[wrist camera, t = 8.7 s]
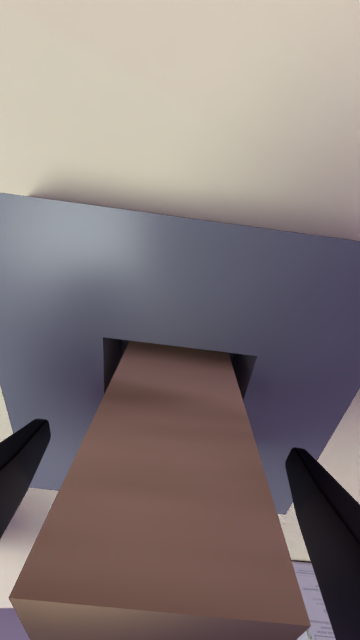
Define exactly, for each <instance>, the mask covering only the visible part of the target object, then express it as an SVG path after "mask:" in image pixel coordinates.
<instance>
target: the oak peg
mask: <svg viewBox="0 0 360 640" xmlns="http://www.w3.org/2000/svg"><path fill="white" fill-rule="evenodd" d="M9 600H10V602H11V603H12V605H13V607H14V609H15V611H16V613H17V615H18V617H19V619H20V621H21V623H22V625H23V627H24V628H25V630H26V632H27V634H28V636H29V638H30V640H297V639H298V638H299V637H300V636H301V635H302V634H303V633H304V632H305V631H306V630H307V629H309V628H310V627H311V624H310V620H309V617H308V614H307V611H306V607H305V604H304V601H303V597H302V594H301V591H300V587H299V584H298V581H297V578H296V574H295V571H294V568H293V564H292V561H291V558H290V554H289V551H288V548H287V545H286V541H285V538H284V535H283V531H282V528H281V525H280V521H279V518H278V515H277V512H276V508H275V505H274V502H273V498H272V495H271V492H270V488H269V485H268V482H267V478H266V475H265V472H264V469H263V465H262V462H261V459H260V455H259V452H258V449H257V445H256V442H255V439H254V436H253V432H252V429H251V426H250V422H249V419H248V416H247V412H246V409H245V406H244V403H243V399H242V396H241V393H240V389H239V386H238V383H237V379H236V376H235V373H234V370H233V366H232V363H231V360H230V356H229V353H228V352H220V351H211V350H203V349H195V348H187V347H178V346H170V345H162V344H154V343H146V342H137V341H129V343H128V345H127V348H126V350H125V352H124V354H123V356H122V358H121V360H120V362H119V365H118V367H117V369H116V371H115V373H114V375H113V377H112V379H111V382H110V384H109V386H108V388H107V390H106V392H105V394H104V396H103V399H102V401H101V403H100V405H99V407H98V409H97V411H96V413H95V416H94V418H93V420H92V422H91V424H90V426H89V428H88V430H87V433H86V435H85V437H84V439H83V441H82V443H81V445H80V447H79V450H78V452H77V454H76V456H75V458H74V460H73V462H72V464H71V467H70V469H69V471H68V473H67V475H66V477H65V479H64V481H63V484H62V486H61V488H60V490H59V492H58V494H57V496H56V498H55V501H54V503H53V505H52V507H51V509H50V511H49V513H48V515H47V518H46V520H45V522H44V524H43V526H42V528H41V530H40V532H39V535H38V537H37V539H36V541H35V543H34V545H33V547H32V549H31V552H30V554H29V556H28V558H27V560H26V562H25V564H24V566H23V569H22V571H21V573H20V575H19V577H18V579H17V581H16V583H15V586H14V588H13V590H12V592H11V594H10V596H9Z"/></svg>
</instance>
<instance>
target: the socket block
mask: <svg viewBox="0 0 360 640" xmlns="http://www.w3.org/2000/svg"><path fill="white" fill-rule="evenodd" d="M129 341H137V342H146V343H154V344H162V345H170V346H178V347H187V348H195V349H203V350H211V351H220V352H228V353H229V356H230V360H231V363H232V366H233V370H234V373H235V376H236V379H237V383H238V386H239V389H240V393H241V396H242V399H243V403H244V406H245V409H246V412H247V416H248V419H249V422H250V426H251V429H252V432H253V436H254V439H255V442H256V445H257V449H258V452H259V455H260V459H261V462H262V465H263V469H264V472H265V475H266V478H267V482H268V485H269V488H270V492H271V495H272V498H273V502H274V505H275V508H276V512H277V514H286V513H287V511H288V509H289V507H290V506H291V504H292V502H293V499H292V495H291V490H290V486H289V482H288V477H287V473H286V468H285V461H286V459H287V457H288V455H289V453H290V451H291V449H292V448H293V447H297V448H303V449H305V450H307V451H308V452H309V453H310V454H311V455H312V457H313V458H314V459H315V460H316V461H317V460H318V458H319V456H320V455H321V453H322V451H323V450H324V448H325V446H326V444H327V443H328V441H329V439H330V438H331V436H332V434H333V432H334V431H335V429H336V427H337V426H338V424H339V422H340V421H341V419H342V417H343V415H344V414H345V412H346V410H347V409H348V407H349V405H350V404H351V402H352V400H353V398H354V397H355V395H356V393H357V392H358V390H359V388H360V241H354V240H347V239H339V238H332V237H324V236H317V235H310V234H302V233H295V232H287V231H280V230H273V229H265V228H258V227H251V226H243V225H236V224H228V223H221V222H214V221H206V220H199V219H191V218H184V217H177V216H169V215H162V214H154V213H147V212H140V211H132V210H125V209H117V208H110V207H103V206H95V205H88V204H80V203H73V202H66V201H58V200H51V199H43V198H36V197H29V196H21V195H14V194H6V193H0V386H1V389H2V393H3V397H4V400H5V404H6V408H7V411H8V415H9V419H10V423H11V426H12V430H13V434H14V433H15V432H16V431H18V430H19V429H21V428H22V427H24V426H25V425H27V424H28V423H30V422H31V421H32V420H34V419H37V418H39V419H47V420H48V421H49V426H50V432H51V439H50V442H49V444H48V446H47V448H46V451H45V453H44V455H43V457H42V460H41V462H40V464H39V466H38V469H37V471H36V473H35V475H34V477H33V480H32V482H31V484H30V486H29V487H30V488H39V489H49V490H58V491H59V490H60V488H61V486H62V484H63V481H64V479H65V477H66V475H67V473H68V471H69V469H70V467H71V464H72V462H73V460H74V458H75V456H76V454H77V452H78V450H79V447H80V445H81V443H82V441H83V439H84V437H85V435H86V433H87V430H88V428H89V426H90V424H91V422H92V420H93V418H94V416H95V413H96V411H97V409H98V407H99V405H100V403H101V401H102V399H103V396H104V394H105V392H106V390H107V388H108V386H109V384H110V382H111V379H112V377H113V375H114V373H115V371H116V369H117V367H118V365H119V362H120V360H121V358H122V356H123V354H124V352H125V350H126V348H127V345H128V343H129Z"/></svg>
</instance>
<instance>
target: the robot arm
mask: <svg viewBox="0 0 360 640" xmlns="http://www.w3.org/2000/svg"><path fill="white" fill-rule="evenodd" d="M50 439H51V432H50V426H49V421H48V420H47V419H39V418H37V419H34V420H32V421H31V422H30V423H28V424H27V425H25V426H24V427H22V428H21V429H19V430H18V431H16V432H15V433H14V434H12V435H11V436H9V437H8V438H6V439H5V440H3V441H2V442H0V539H1V537H2V535H3V533H4V531H5V530H6V528H7V526H8V524H9V523H10V521H11V519H12V517H13V515H14V514H15V512H16V510H17V508H18V506H19V505H20V503H21V501H22V499H23V498H24V496H25V494H26V492H27V490H28V488H29V486H30V484H31V482H32V480H33V477H34V475H35V473H36V471H37V469H38V466H39V464H40V462H41V460H42V457H43V455H44V453H45V451H46V448H47V446H48V444H49V442H50ZM285 468H286V473H287V477H288V482H289V486H290V490H291V495H292V499H293V504H294V508H295V512H296V516H297V519H298V523H299V526H300V529H301V532H302V535H303V539H304V542H305V545H306V548H307V551H308V554H309V557H310V560H311V564H312V567H313V570H314V573H315V576H316V579H317V582H318V586H319V589H320V592H321V595H322V598H323V601H324V604H325V607H326V611H327V614H328V617H329V620H330V623H331V626H332V629H333V633H334V636H335V639H336V640H360V504H359V503H358V502H357V501H356V500H355V499H354V498H353V497H352V496H351V495H350V494H349V493H348V492H347V491H346V490H345V489H344V488H343V487H342V486H341V485H340V484H339V483H338V482H337V481H336V480H335V479H334V478H333V477H332V476H331V475H330V474H329V473H328V472H327V471H326V470H325V469H324V468H323V467H322V466H321V465H320V464H319V463H318V462H317V461H316V460H315V459H314V458H313V457H312V455H311V454H310V453H309V452H308V451H307V450H305V449H303V448H297V447H293V448H292V449H291V451H290V453H289V455H288V457H287V459H286V461H285Z"/></svg>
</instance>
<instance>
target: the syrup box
mask: <svg viewBox="0 0 360 640" xmlns="http://www.w3.org/2000/svg"><path fill="white" fill-rule="evenodd" d="M292 564H293V568H294V571H295V574H296V578H297V581H298V584H299V587H300V591H301V594H302V597H303V601H304V604H305V607H306V611H307V614H308V617H309V620H310V624H311V627H310V628H309V629H307V630H306V631H305V632H304V633H303V634H302V635H301V636H300V637H299V638H298V639H297V640H336V639H335V636H334V633H333V629H332V626H331V623H330V620H329V617H328V614H327V611H326V607H325V604H324V601H323V598H322V595H321V592H320V589H319V586H318V582H317V579H316V576H315V573H314V570H313V567H312V564H311V563H305V562H292Z"/></svg>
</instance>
